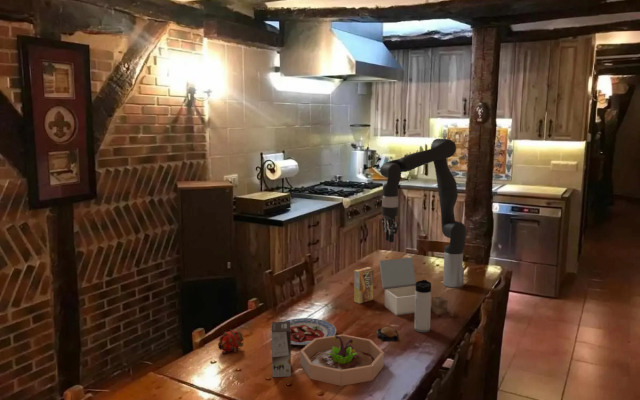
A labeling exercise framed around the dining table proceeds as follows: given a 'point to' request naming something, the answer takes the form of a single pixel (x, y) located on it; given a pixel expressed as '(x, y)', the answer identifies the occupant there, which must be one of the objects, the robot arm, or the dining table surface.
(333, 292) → the dining table surface
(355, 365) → the plant
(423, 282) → the travel mug
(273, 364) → the coffee box
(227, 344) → the dragon fruit
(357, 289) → the candy box
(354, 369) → the brown shallow octagonal piece
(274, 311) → the dining table surface
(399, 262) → the lid
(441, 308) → the walnut block
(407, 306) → the chest
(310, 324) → the ceramic plate
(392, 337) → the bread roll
